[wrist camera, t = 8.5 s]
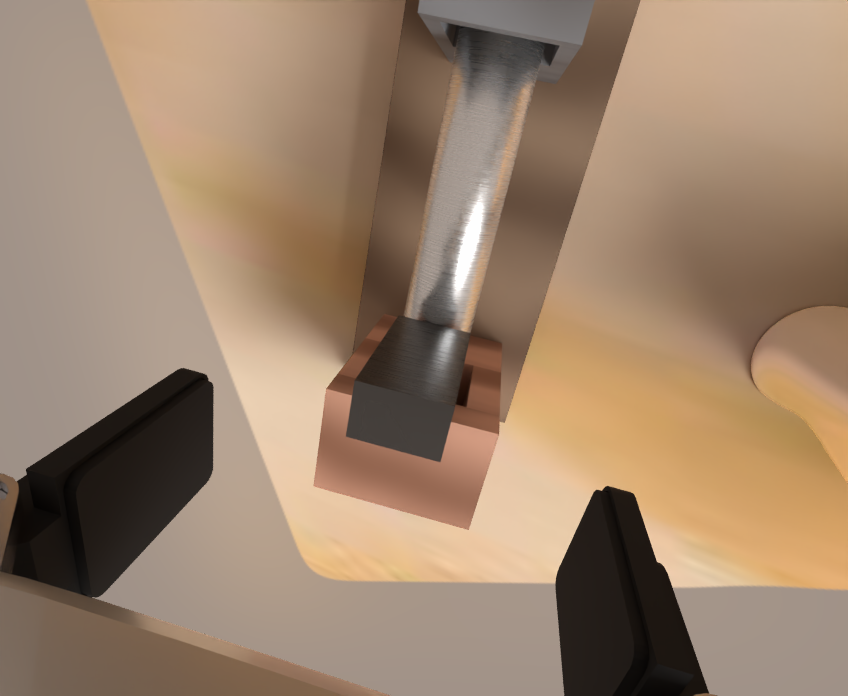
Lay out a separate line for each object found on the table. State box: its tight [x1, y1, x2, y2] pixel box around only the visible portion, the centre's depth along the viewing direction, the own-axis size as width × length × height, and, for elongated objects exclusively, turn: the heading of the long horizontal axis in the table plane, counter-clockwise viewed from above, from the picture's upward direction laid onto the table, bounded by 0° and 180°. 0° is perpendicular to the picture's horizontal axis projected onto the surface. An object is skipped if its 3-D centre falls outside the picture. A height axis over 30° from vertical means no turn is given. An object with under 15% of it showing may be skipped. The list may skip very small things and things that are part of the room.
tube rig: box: [314, 0, 640, 530], centre depth 20 cm, size 27×10×11 cm, turn 169°
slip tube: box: [346, 26, 546, 462], centre depth 16 cm, size 19×3×9 cm, turn 168°
